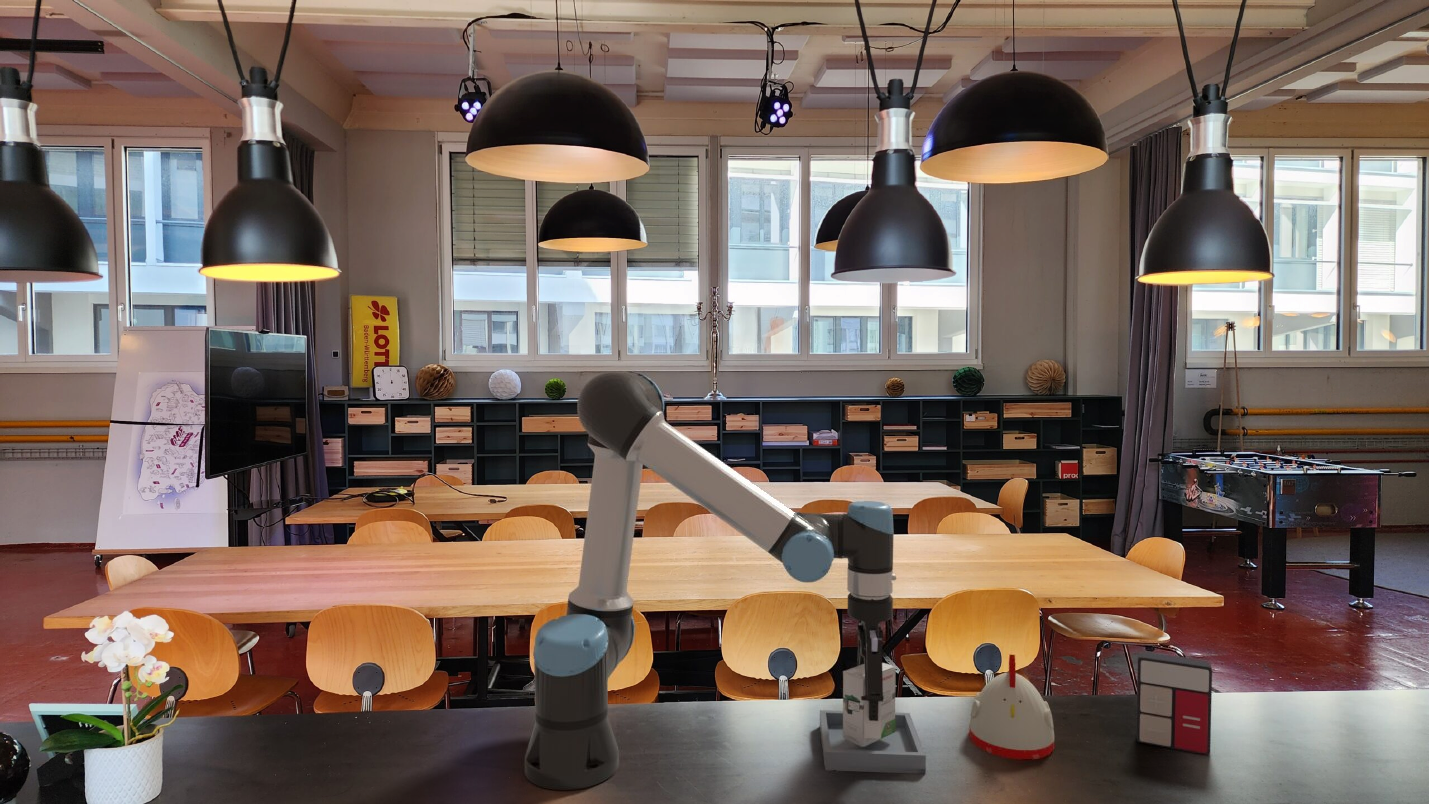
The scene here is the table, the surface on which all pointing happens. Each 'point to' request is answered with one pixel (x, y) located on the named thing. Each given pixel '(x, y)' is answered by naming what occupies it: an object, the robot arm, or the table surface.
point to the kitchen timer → (1012, 718)
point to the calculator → (1174, 702)
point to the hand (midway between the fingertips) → (869, 724)
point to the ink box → (855, 705)
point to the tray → (872, 748)
